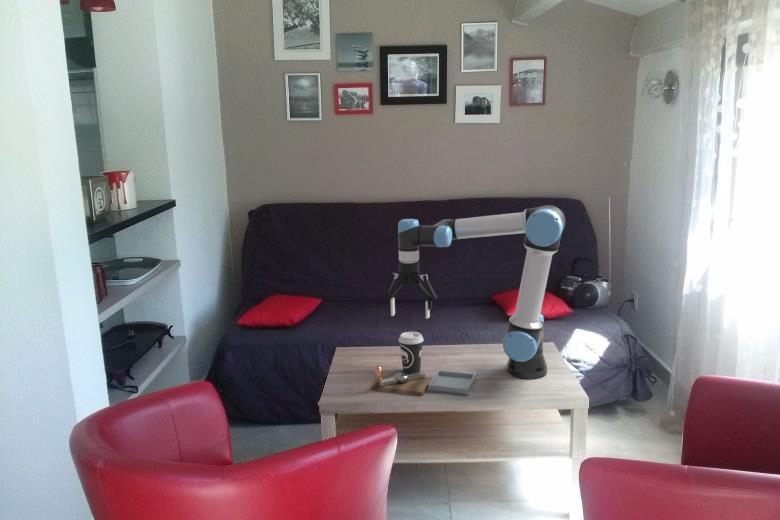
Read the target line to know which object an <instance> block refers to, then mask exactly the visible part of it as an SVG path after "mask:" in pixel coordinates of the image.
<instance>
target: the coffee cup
mask: <svg viewBox="0 0 780 520" xmlns="http://www.w3.org/2000/svg"><path fill="white" fill-rule="evenodd" d="M424 340H425V339H424V337H423V335H422V334H421V333H420V332H417V331H405V332H402V333H401V334H400V335H399V338H398V340H397V341H398V343H399V348H400V354H401V355H400V356H401V364H402V373H406V374H413V373H418V372H421V366H422V365H421V364H422V363H421V362H422V353H423V351H422V350H423V342H424Z"/></svg>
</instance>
